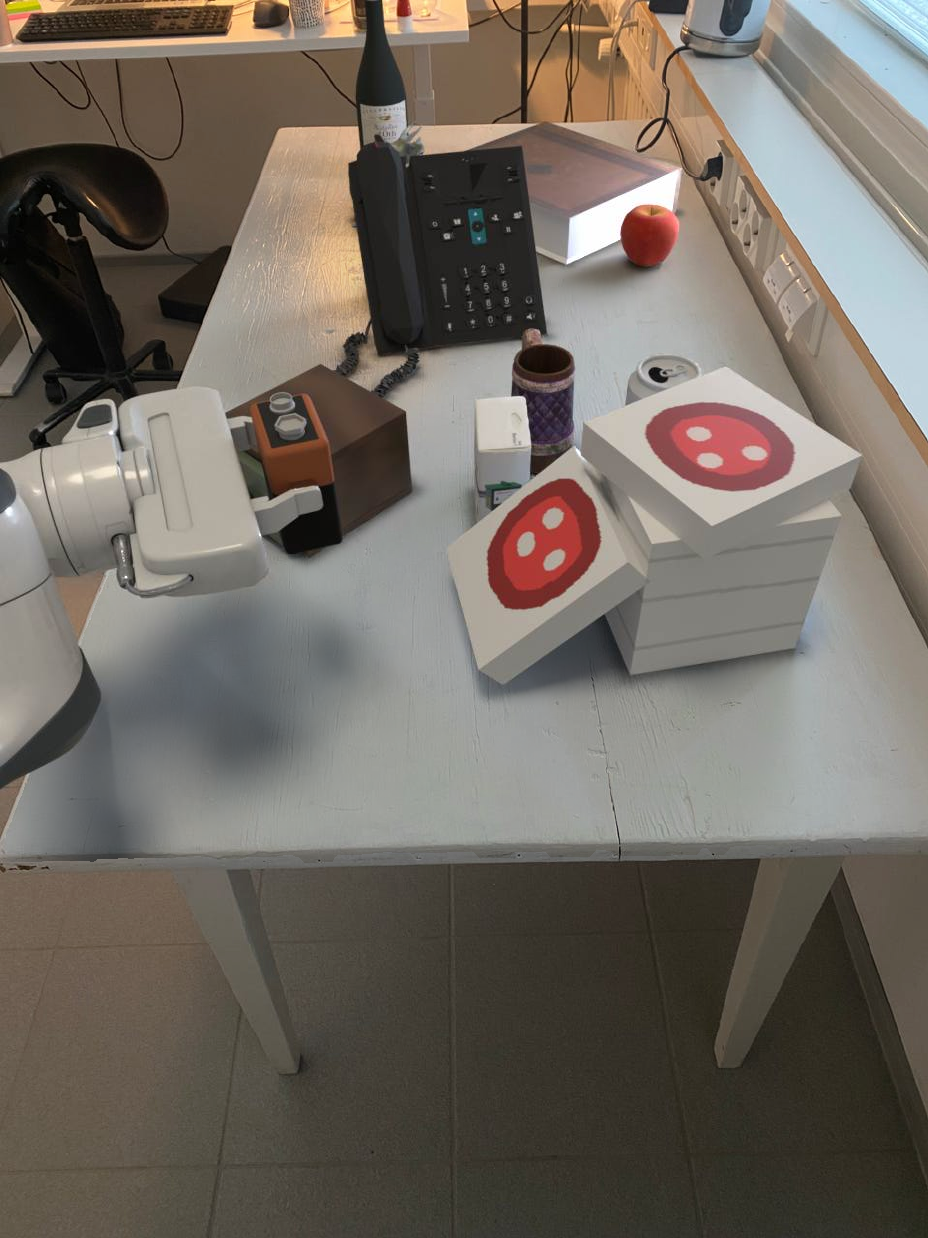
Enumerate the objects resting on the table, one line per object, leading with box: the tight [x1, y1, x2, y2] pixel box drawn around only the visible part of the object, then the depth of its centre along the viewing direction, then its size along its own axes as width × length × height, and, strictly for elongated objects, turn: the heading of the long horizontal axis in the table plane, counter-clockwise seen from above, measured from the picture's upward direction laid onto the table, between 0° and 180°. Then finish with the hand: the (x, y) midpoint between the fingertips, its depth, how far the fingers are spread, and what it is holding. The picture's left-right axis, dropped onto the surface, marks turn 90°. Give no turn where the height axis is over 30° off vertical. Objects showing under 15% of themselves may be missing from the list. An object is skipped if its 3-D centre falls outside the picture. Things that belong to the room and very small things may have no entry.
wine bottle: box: [354, 0, 409, 169], centre depth 144 cm, size 8×8×30 cm
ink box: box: [473, 396, 531, 524], centre depth 89 cm, size 9×5×12 cm, turn 2°
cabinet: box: [225, 363, 413, 558], centre depth 93 cm, size 14×13×10 cm
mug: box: [510, 328, 576, 474], centre depth 97 cm, size 10×7×12 cm
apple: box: [620, 204, 680, 267], centre depth 128 cm, size 8×8×8 cm
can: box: [624, 353, 703, 406], centre depth 94 cm, size 8×8×12 cm
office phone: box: [332, 141, 548, 399], centre depth 110 cm, size 29×28×20 cm
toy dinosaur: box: [348, 120, 425, 229], centre depth 138 cm, size 22×8×11 cm, turn 154°
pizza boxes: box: [445, 366, 863, 686], centre depth 77 cm, size 19×30×18 cm, turn 101°
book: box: [465, 120, 683, 265], centre depth 141 cm, size 24×28×6 cm
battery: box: [250, 392, 344, 556], centre depth 66 cm, size 4×7×10 cm, turn 19°
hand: (307, 460), depth 66 cm, fingers closed on battery, 7 cm apart
